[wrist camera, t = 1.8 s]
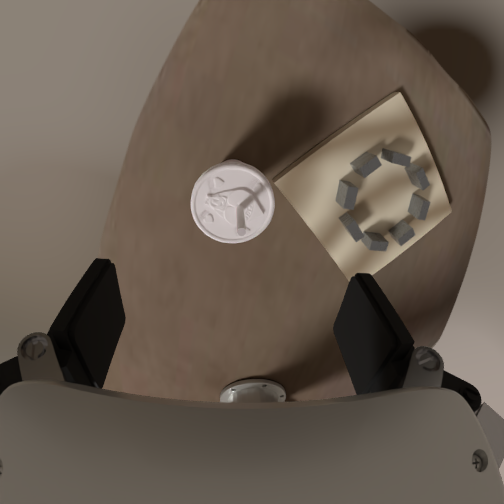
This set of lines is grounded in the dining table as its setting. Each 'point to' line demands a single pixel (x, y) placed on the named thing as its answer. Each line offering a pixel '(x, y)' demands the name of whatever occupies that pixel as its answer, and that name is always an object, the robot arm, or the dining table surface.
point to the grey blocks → (349, 192)
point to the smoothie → (232, 202)
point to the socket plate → (365, 186)
